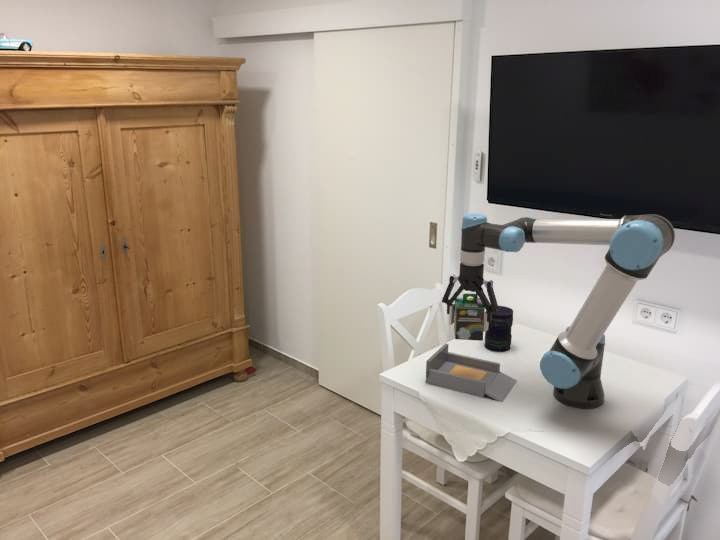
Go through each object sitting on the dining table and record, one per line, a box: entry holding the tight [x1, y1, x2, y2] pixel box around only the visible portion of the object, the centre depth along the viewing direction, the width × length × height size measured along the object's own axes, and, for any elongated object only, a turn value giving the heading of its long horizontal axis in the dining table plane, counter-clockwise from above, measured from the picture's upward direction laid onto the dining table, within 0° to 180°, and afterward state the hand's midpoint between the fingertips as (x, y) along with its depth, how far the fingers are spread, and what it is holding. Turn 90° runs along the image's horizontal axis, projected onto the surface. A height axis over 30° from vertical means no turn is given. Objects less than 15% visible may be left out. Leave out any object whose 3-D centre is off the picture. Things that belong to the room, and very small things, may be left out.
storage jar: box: [484, 305, 514, 353], centre depth 223 cm, size 10×10×15 cm
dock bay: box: [425, 343, 518, 403], centre depth 197 cm, size 26×16×8 cm, turn 60°
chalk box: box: [453, 293, 486, 342], centre depth 192 cm, size 9×9×15 cm
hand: (468, 327), depth 193 cm, fingers closed on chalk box, 11 cm apart
